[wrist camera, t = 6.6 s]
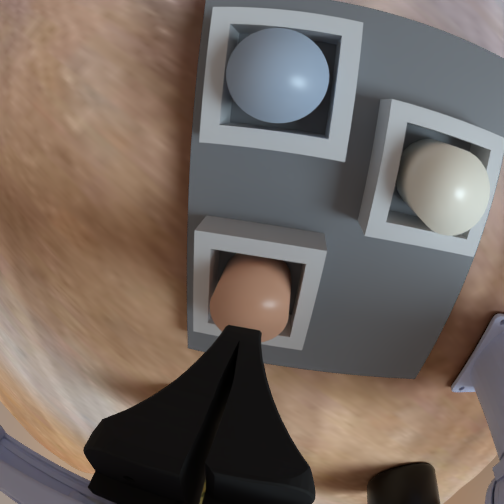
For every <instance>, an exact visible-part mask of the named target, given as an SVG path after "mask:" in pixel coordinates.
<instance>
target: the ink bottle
mask: <svg viewBox="0 0 504 504" xmlns="http://www.w3.org/2000/svg"><path fill="white" fill-rule="evenodd" d="M367 504H440V499H439V492H438V486H437V480H436V474H435V469H434V467H433V466H432V465H430V464H425V463H419V464H411V465H405V466H401V467H397V468H393V469H390V470H387V471H385V472H382V473H380V474H378V475H376V476H375V477H373V478H372V479H371V480H370V481H369V483H368V485H367Z"/></svg>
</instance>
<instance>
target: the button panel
mask: <svg viewBox="0 0 504 504" xmlns="http://www.w3.org/2000/svg"><path fill="white" fill-rule="evenodd" d="M269 28H284V29H290V30H293V31H296V32H299V33H301V34H303V35H305V36H306V37H308V38H309V39H311V40H312V41H313V42H314V43H315V44H316V45H317V46H318V47H319V49H320V50H321V51H322V53H323V55H324V57H325V59H326V61H327V65H328V69H329V84H328V88H327V91H326V94H325V96H324V98H323V100H322V101H321V103H320V104H319V105H318V106H317V107H316V108H315V109H314V110H313V111H312V112H311V113H310V114H308V115H306V116H305V117H303V118H301V119H298V120H295V121H292V122H287V123H270V122H265V121H261V120H258V119H256V118H254V117H252V116H250V115H249V114H247V113H246V112H244V111H243V110H242V109H241V108H240V107H239V106H238V105H237V104H236V102H235V101H234V100H233V98H232V96H231V94H230V92H229V89H228V85H227V80H226V69H227V64H228V61H229V58H230V56H231V54H232V52H233V51H234V49H235V48H236V46H237V45H238V44H239V43H240V42H241V41H242V40H244V39H245V38H246V37H248V36H249V35H251V34H253V33H255V32H257V31H260V30H264V29H269ZM422 139H434V140H438V141H441V142H444V143H447V144H450V145H452V146H455V147H458V148H461V149H464V150H466V151H468V152H470V153H472V154H474V155H475V156H476V157H477V158H478V159H479V160H480V161H481V162H482V164H483V165H484V167H485V169H486V171H487V174H488V178H489V183H490V196H489V201H488V205H487V208H486V210H485V212H484V214H483V216H482V217H481V219H480V220H479V221H478V222H477V224H476V225H475V226H473V227H472V228H471V229H469V230H468V231H466V232H464V233H462V234H458V235H453V236H447V235H441V234H438V233H436V232H434V231H433V230H431V229H430V228H429V227H428V226H426V224H425V223H424V222H423V221H422V220H421V219H420V218H419V217H418V216H417V214H416V213H415V212H414V211H413V210H412V209H411V208H410V207H409V206H408V205H407V204H406V203H405V201H404V200H403V199H402V198H401V196H400V194H399V192H398V190H397V187H396V178H397V174H398V169H399V164H400V159H401V154H402V153H403V151H404V150H405V149H406V148H407V147H408V146H409V145H411V144H412V143H414V142H416V141H419V140H422ZM503 156H504V58H502V57H500V56H498V55H496V54H494V53H492V52H490V51H488V50H486V49H484V48H482V47H480V46H477V45H475V44H473V43H471V42H469V41H466V40H464V39H462V38H459V37H457V36H455V35H452V34H450V33H447V32H445V31H442V30H439V29H437V28H434V27H431V26H428V25H426V24H423V23H420V22H417V21H414V20H410V19H407V18H404V17H401V16H397V15H394V14H390V13H387V12H383V11H379V10H375V9H371V8H367V7H362V6H358V5H353V4H348V3H343V2H338V1H332V0H206V3H205V10H204V17H203V25H202V33H201V41H200V50H199V59H198V68H197V78H196V89H195V100H194V112H193V125H192V140H191V156H190V175H189V198H188V231H187V330H188V348H189V349H194V350H198V351H203V352H206V351H207V350H208V349H209V348H210V346H211V345H212V344H213V343H214V342H215V341H216V339H217V338H218V337H219V335H220V334H221V333H222V331H221V330H220V329H219V328H218V327H217V326H216V324H215V323H214V321H213V319H212V317H211V314H210V300H211V297H212V295H213V293H214V291H215V289H216V286H217V284H218V282H219V280H220V278H221V275H222V273H223V271H224V269H225V267H226V265H227V263H228V261H229V260H230V259H231V258H232V257H233V256H234V255H235V254H237V253H240V254H247V255H253V256H259V257H265V258H271V259H278V260H283V261H284V262H285V263H286V264H287V266H288V268H289V270H290V273H291V280H292V282H291V294H290V305H289V316H288V322H287V324H286V326H285V328H284V330H283V331H282V332H281V333H280V334H279V335H278V336H276V337H275V338H273V339H271V340H268V341H265V342H261V348H262V357H263V363H266V364H273V365H279V366H286V367H293V368H300V369H307V370H315V371H323V372H332V373H341V374H351V375H362V376H374V377H388V378H406V379H415V378H416V376H417V375H418V373H419V371H420V370H421V368H422V366H423V364H424V363H425V361H426V359H427V357H428V356H429V354H430V352H431V350H432V348H433V346H434V345H435V343H436V341H437V339H438V337H439V335H440V333H441V331H442V329H443V327H444V325H445V323H446V321H447V319H448V317H449V315H450V313H451V311H452V309H453V306H454V304H455V302H456V300H457V298H458V295H459V293H460V291H461V288H462V286H463V284H464V281H465V279H466V276H467V274H468V272H469V269H470V266H471V264H472V261H473V259H474V256H475V253H476V251H477V248H478V245H479V242H480V239H481V236H482V233H483V230H484V227H485V224H486V221H487V218H488V215H489V211H490V208H491V204H492V201H493V197H494V194H495V190H496V186H497V182H498V178H499V174H500V169H501V165H502V160H503Z"/></svg>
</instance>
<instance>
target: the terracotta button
mask: <svg viewBox="0 0 504 504" xmlns="http://www.w3.org/2000/svg"><path fill="white" fill-rule="evenodd" d="M291 282H292V280H291V273H290V270H289V268H288V266H287V264H286V263H285V262H284V261H283V260H278V259H271V258H265V257H259V256H253V255H247V254H240V253H237V254H235V255H234V256H233V257H232V258H231V259H230V260H229V261H228V263H227V265H226V267H225V269H224V271H223V273H222V275H221V278H220V280H219V282H218V284H217V286H216V289H215V291H214V293H213V295H212V297H211V300H210V314H211V317H212V319H213V321H214V323H215V324H216V326H217V327H218V328H219V329H220V330H221V331H223V330H224V328H225V327H226V326H227V325H233V326H238V327H244V328H249V329H255V330H260V331H261V333H262V336H261V342H265V341H268V340H271V339H273V338H275V337H276V336H278V335H279V334H280V333H281V332H282V331H283V330H284V328H285V326H286V324H287V322H288V316H289V305H290V294H291Z"/></svg>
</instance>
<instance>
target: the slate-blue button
mask: <svg viewBox="0 0 504 504" xmlns="http://www.w3.org/2000/svg"><path fill="white" fill-rule="evenodd" d="M226 80H227V85H228V89H229V92H230V94H231V96H232V98H233V100H234V101H235V102H236V104H237V105H238V106H239V107H240V108H241V109H242V110H243V111H244V112H246V113H247V114H249V115H250V116H252V117H254V118H256V119H258V120H261V121H265V122H270V123H287V122H292V121H295V120H298V119H301V118H303V117H305V116H306V115H308V114H310V113H311V112H312V111H313V110H314V109H315V108H316V107H317V106H318V105H319V104H320V103H321V101H322V100H323V98H324V96H325V94H326V91H327V88H328V84H329V69H328V65H327V61H326V59H325V57H324V55H323V53H322V51H321V50H320V49H319V47H318V46H317V45H316V44H315V43H314V42H313V41H312V40H311V39H309V38H308V37H306V36H305V35H303V34H301V33H299V32H296V31H293V30H290V29H284V28H269V29H264V30H260V31H257V32H255V33H253V34H251V35H249V36H248V37H246V38H245V39H244V40H242V41H241V42H240V43H239V44H238V45H237V46H236V48H235V49H234V51H233V52H232V54H231V56H230V58H229V61H228V64H227V69H226Z"/></svg>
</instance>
